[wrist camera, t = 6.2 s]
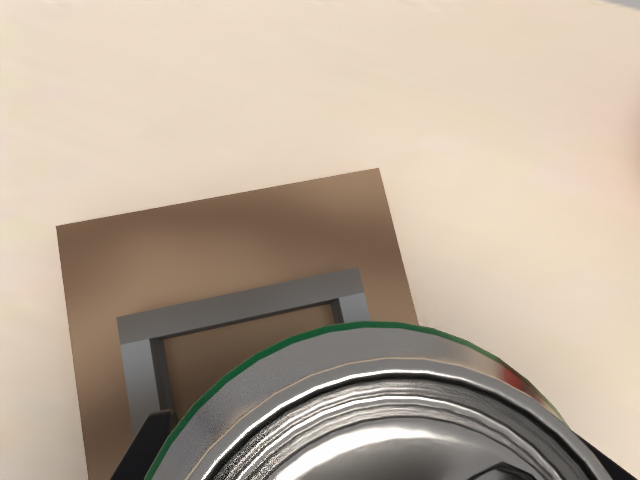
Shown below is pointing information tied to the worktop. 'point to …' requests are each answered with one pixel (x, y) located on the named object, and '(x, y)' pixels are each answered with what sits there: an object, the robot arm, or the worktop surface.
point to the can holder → (217, 293)
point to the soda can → (374, 414)
